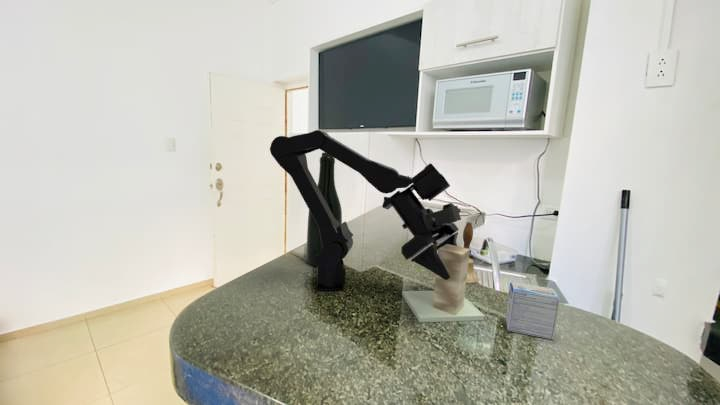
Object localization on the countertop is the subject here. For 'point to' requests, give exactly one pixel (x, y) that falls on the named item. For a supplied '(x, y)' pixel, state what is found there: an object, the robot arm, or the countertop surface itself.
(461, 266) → the birch block
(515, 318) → the medicine box
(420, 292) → the sage board
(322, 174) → the beer bottle
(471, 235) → the hand bell
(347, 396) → the countertop surface
